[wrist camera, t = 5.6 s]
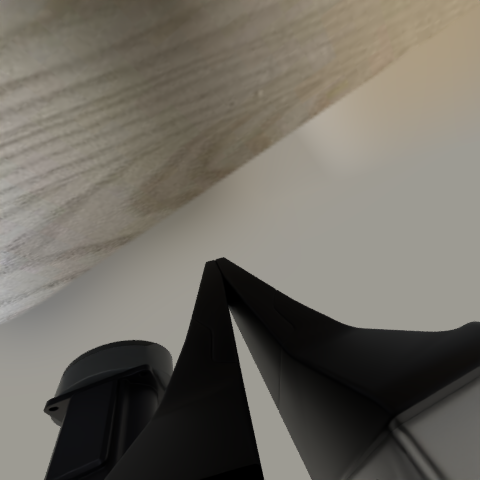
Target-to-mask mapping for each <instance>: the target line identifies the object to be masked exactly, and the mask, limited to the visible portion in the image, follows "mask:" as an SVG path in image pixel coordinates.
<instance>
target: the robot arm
mask: <svg viewBox="0 0 480 480" xmlns="http://www.w3.org/2000/svg"><path fill="white" fill-rule="evenodd" d="M229 309H230V311H231V313H232V315H233V317H234V319H235V322H236V324H237V326H238V327H239V330H240V332H241V334H242V336H243V338H244V340H245V342H246V344H247V346H248V348H249V350H250V353H251V355H252V357H253V359H254V361H255V363H256V365H257V367H258V369H259V371H260V373H261V375H262V377H263V379H264V381H265V384H266V386H267V388H268V390H269V392H270V394H271V396H272V398H273V400H274V402H275V404H276V406H277V408H278V410H279V413H280V415H281V417H282V419H283V421H284V423H285V425H286V427H287V429H288V431H289V433H290V435H291V438H292V440H293V442H294V444H295V446H296V448H297V450H298V452H299V454H300V456H301V458H302V460H303V462H304V464H305V466H306V469H307V471H308V473H309V475H310V477H311V479H312V480H480V322H470V323H468V324H465V325H463V326H462V327H460V328H457V329H454V330H449V331H441V332H440V331H439V332H423V331H422V332H421V331H404V330H384V329H364V328H356V327H352V326H348V325H345V324H342V323H340V322H338V321H336V320H334V319H332V318H330V317H328V316H326V315H324V314H321V313H319V312H317V311H315V310H313V309H311V308H309V307H307V306H305V305H303V304H301V303H299V302H297V301H295V300H293V299H291V298H290V297H288V296H286V295H285V294H283V293H281V292H280V291H278V290H276V289H275V288H273V287H271V286H270V285H268V284H266V283H265V282H263V281H262V280H260V279H258V278H257V277H255V276H254V275H252V274H250V273H248V272H247V271H245V270H244V269H242V268H241V267H239V266H237V265H236V264H234V263H232V262H230V261H229V260H227V259H226V258H224V257H223V258H219V259H216V260H212V261H208V262H206V264H205V268H204V272H203V275H202V280H201V283H200V287H199V292H198V295H197V299H196V303H195V307H194V311H193V314H192V319H191V322H190V326H189V330H188V333H187V336H186V340H185V342H184V345H183V348H182V351H181V353H180V356H179V358H178V361H177V363H176V366H175V368H174V371H173V373H172V376H171V378H170V381H169V383H168V386H167V388H166V389H165V387H164V385H163V384H162V382H161V381H160V379H159V378H158V376H157V375H156V373H155V371H154V370H153V368H152V367H151V365H149V364H143V365H140V366H137V367H135V368H132V369H130V370H127V371H124V372H122V373H119V374H116V375H114V376H111V377H108V378H106V379H103V380H100V381H98V382H95V383H92V384H90V385H87V386H84V387H82V388H79V389H76V390H74V391H71V392H68V393H66V394H63V395H60V396H58V397H55V398H52V399H50V400H49V401H47V403H46V406H45V408H44V412H45V413H47V414H48V415H50V416H51V417H53V418H54V419H56V420H57V421H59V422H61V423H62V425H61V428H60V431H59V435H58V438H57V441H56V444H55V447H54V450H53V453H52V457H51V460H50V463H49V466H48V469H47V472H46V476H45V479H44V480H264V477H263V472H262V468H261V463H260V458H259V453H258V449H257V444H256V439H255V435H254V430H253V425H252V420H251V416H250V411H249V407H248V402H247V397H246V392H245V388H244V383H243V378H242V373H241V368H240V363H239V358H238V353H237V347H236V342H235V337H234V332H233V327H232V322H231V317H230V312H229Z"/></svg>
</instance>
